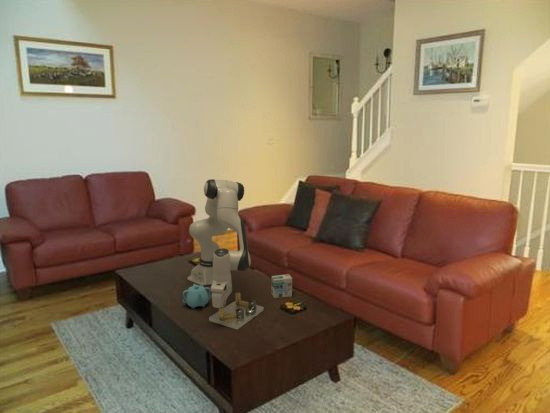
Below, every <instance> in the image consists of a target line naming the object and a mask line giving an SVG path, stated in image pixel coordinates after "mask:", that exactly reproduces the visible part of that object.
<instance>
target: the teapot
mask: <svg viewBox="0 0 550 413" xmlns="http://www.w3.org/2000/svg"><path fill="white" fill-rule="evenodd" d="M207 290H208V291H207ZM185 293H186V294H185ZM211 293H212V292H211V287H209V286H206V287H205V285H199V284H197V283H193V284H192V286H189V287H188V288H187V289H185V290H184V291H182V295H183V296H182V297H183V298H182V302H183V303H186V304H187V306H189V307H190V308H191V310H192V309H193V310H194V309H196V308H197V307H202V308H205V307H206V305H207V304H208V303H209V300H210V299H212V294H211Z"/></svg>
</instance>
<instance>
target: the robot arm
mask: <svg viewBox="0 0 550 413" xmlns="http://www.w3.org/2000/svg"><path fill="white" fill-rule="evenodd" d="M203 193H204V196H205V197H206V198H207V199H206V202H205V206H204V212H205V213H206V215H207V216H208V218H203V219H200V220H196V221H194V222H191V224H190V225H189V228H188V230H189V231H188V233H189V236H191V237H192V239H194V240H195V241H196V242H198V244H199V248H200V256H201V257H200V258H199V259H197V262H199V263H198V264H197V265H195V267H193V268H192V269H191V272H190V275H188V277H187V278H186V279H187V280H188V281H190V282H191V283H193V284H196V285H201V286H207V285H209V286H210V285H211V286H210V290H211V292H210V293H211V304H212V307H213V308H217V309H219V308H220V307H224V308H225V307H226V306H227V299H228V297H229V296H230V294H232V292H233V286H232V285H233V282H232V273H231V271H239V272H245V271H247V270H248V269H249V268H250V267H251V263H252V260H251V259H252V258H251V255H250V253H249V245H248V239H247V230H246V225H245V222H244V220H243V219H241V217H240V214H239V202H240V201H242V199H243V198H244V196H245V187H244V185H243V184H242V183H241V182H238V181H233V180H227V179H226V180H225V179H224V180H223V179H207V180H206V181H205V184H204V186H203ZM229 229H230V230H232V231H234V232H236V234H237V236H238V243H239V250H229V249H227V248H222V247H221V248H220V246H219V244H218V242H215V241H213V238H212V237H215V236H218V235H221V234H224V233H226V232H227V231H228V230H229Z"/></svg>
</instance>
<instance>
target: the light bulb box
mask: <svg viewBox="0 0 550 413" xmlns="http://www.w3.org/2000/svg"><path fill="white" fill-rule="evenodd" d="M270 279H271V295H272V297H273V299H279V298H288V297H289V298H290V297H292V296H293V277H292V276H291V275H290V274H289V273H287V274H279V275H271V278H270Z"/></svg>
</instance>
